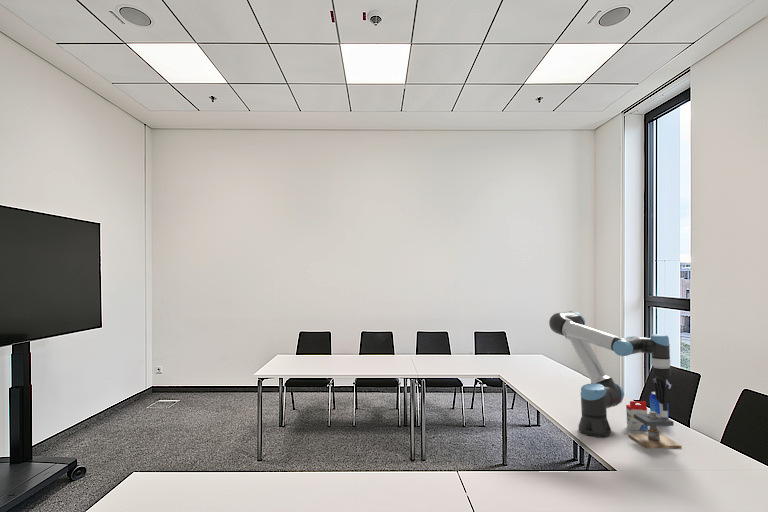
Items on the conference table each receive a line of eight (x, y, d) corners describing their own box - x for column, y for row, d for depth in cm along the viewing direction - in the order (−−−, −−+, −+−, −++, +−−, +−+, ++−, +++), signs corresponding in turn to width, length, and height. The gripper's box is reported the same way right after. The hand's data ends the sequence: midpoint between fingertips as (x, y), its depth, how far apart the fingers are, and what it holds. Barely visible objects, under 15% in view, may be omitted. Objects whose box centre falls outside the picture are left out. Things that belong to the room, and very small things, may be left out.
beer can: (672, 425, 239) (671, 395, 240) (656, 426, 239) (655, 395, 240) (663, 420, 247) (661, 391, 248) (647, 421, 247) (646, 391, 248)
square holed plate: (647, 426, 211) (647, 421, 211) (633, 418, 223) (633, 413, 223) (673, 425, 211) (673, 421, 211) (658, 417, 223) (658, 413, 223)
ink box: (643, 427, 238) (642, 398, 238) (648, 430, 233) (647, 401, 233) (626, 427, 238) (625, 398, 239) (630, 430, 234) (629, 401, 234)
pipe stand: (646, 448, 209) (644, 417, 210) (628, 436, 225) (627, 407, 226) (681, 448, 208) (680, 417, 209) (661, 435, 224) (660, 407, 225)
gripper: (677, 369, 212) (680, 421, 210) (661, 364, 225) (663, 412, 223) (661, 369, 212) (664, 421, 211) (646, 364, 225) (648, 413, 224)
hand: (663, 416), depth 217 cm, fingers closed
